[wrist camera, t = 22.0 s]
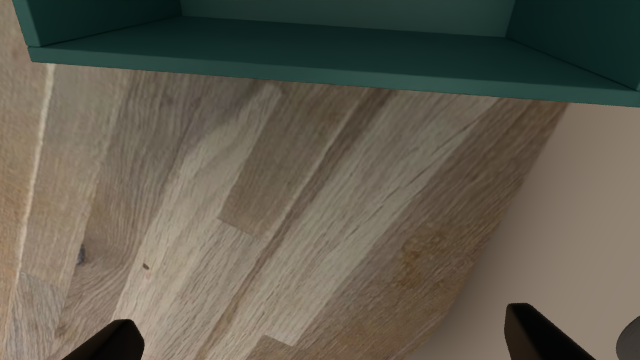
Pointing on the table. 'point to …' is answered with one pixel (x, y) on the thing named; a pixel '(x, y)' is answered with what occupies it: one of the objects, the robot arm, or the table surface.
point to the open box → (359, 43)
